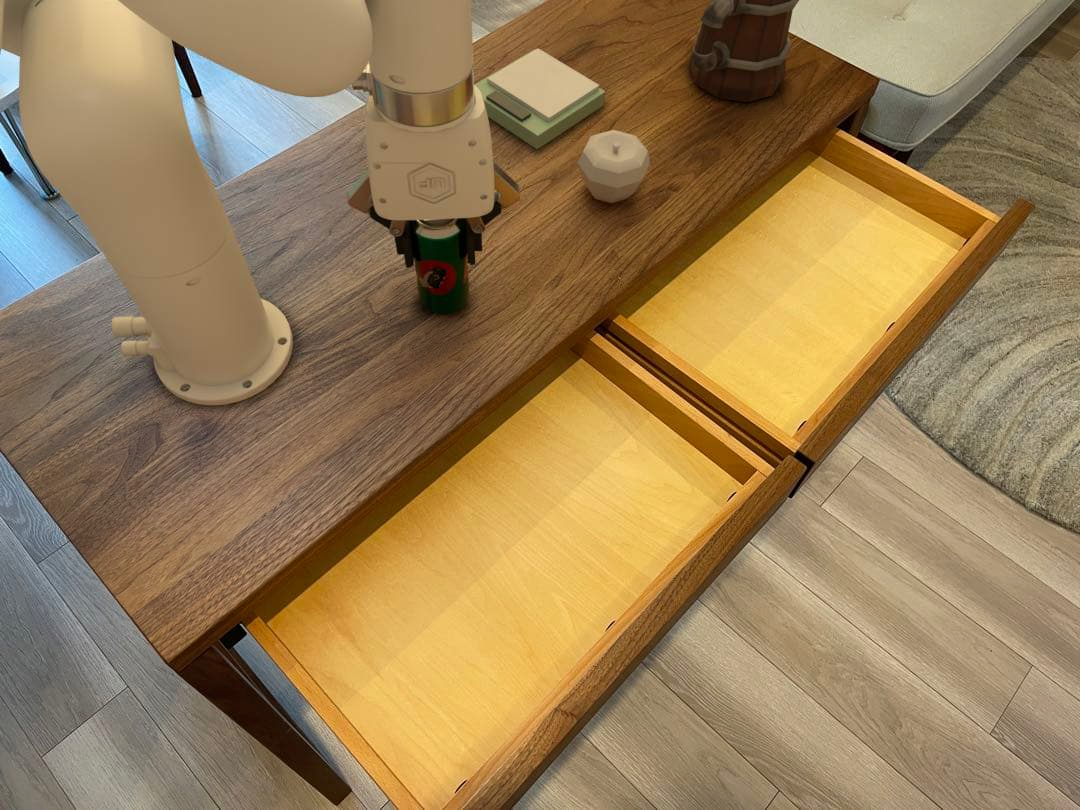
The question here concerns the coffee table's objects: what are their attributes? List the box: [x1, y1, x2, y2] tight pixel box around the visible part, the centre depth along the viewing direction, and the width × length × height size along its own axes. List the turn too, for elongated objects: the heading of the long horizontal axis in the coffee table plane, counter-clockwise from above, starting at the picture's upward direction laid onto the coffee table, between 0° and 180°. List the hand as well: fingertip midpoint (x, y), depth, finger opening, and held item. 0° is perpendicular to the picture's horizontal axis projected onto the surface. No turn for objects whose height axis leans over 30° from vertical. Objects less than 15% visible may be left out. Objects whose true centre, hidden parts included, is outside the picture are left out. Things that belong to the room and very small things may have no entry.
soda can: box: [409, 218, 470, 316], centre depth 74 cm, size 5×5×12 cm
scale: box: [474, 48, 606, 150], centre depth 96 cm, size 12×12×3 cm
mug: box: [688, 0, 800, 103], centre depth 94 cm, size 16×12×15 cm
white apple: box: [577, 129, 651, 204], centre depth 86 cm, size 8×8×7 cm
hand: (440, 253), depth 73 cm, fingers closed on soda can, 5 cm apart
